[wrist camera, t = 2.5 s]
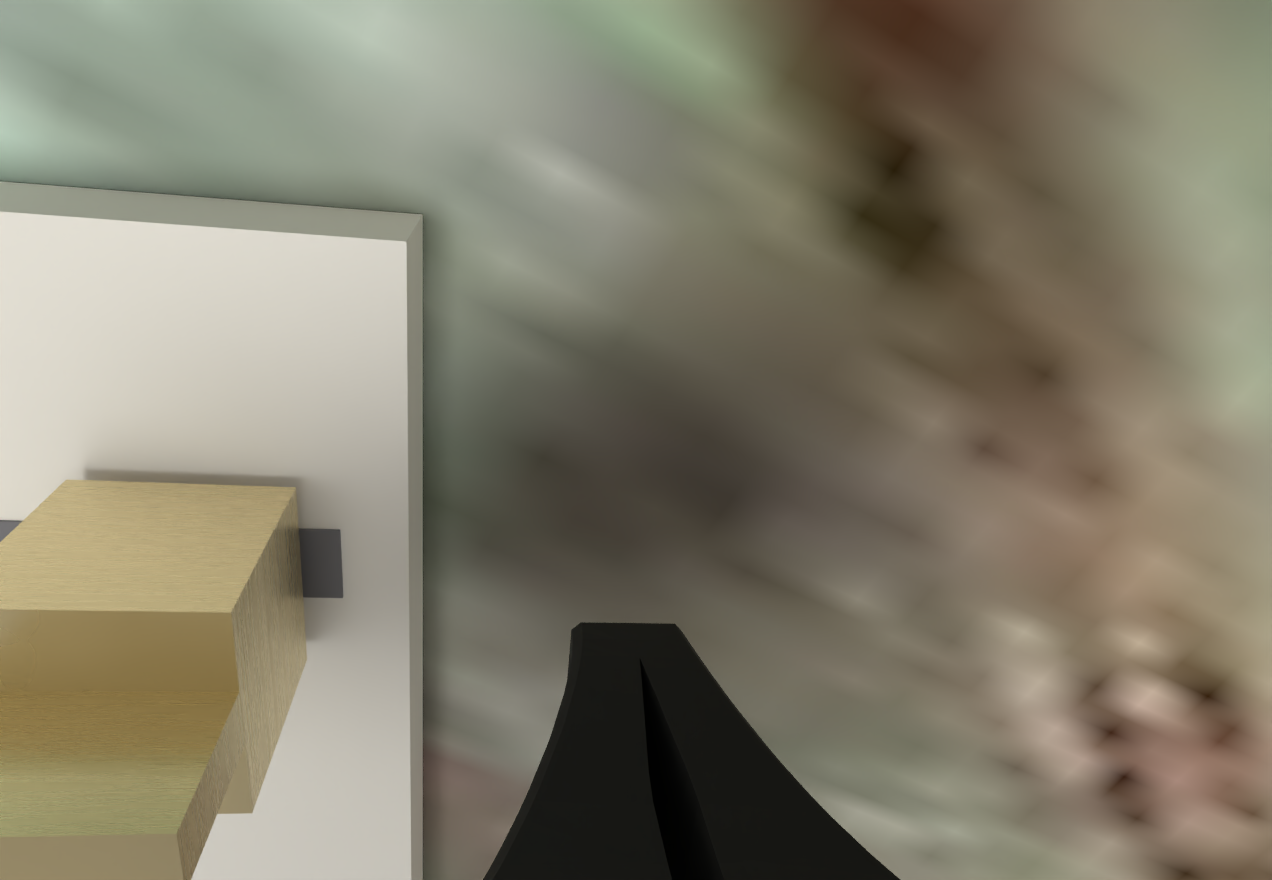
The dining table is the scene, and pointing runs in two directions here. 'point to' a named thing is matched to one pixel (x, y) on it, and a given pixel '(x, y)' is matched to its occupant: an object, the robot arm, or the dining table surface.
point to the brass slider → (142, 672)
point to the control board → (250, 459)
